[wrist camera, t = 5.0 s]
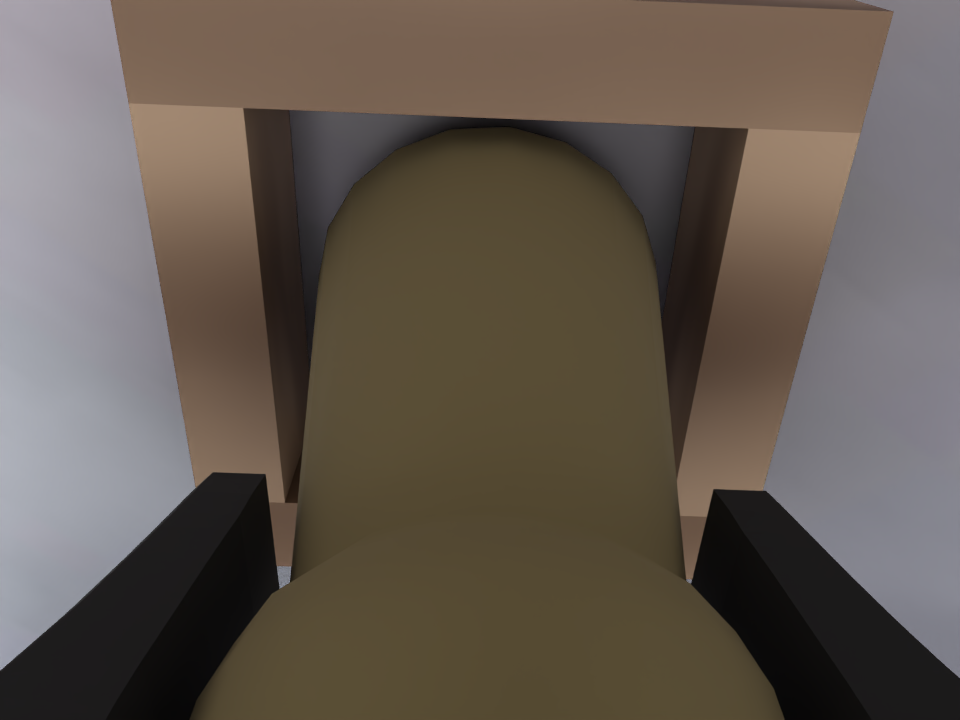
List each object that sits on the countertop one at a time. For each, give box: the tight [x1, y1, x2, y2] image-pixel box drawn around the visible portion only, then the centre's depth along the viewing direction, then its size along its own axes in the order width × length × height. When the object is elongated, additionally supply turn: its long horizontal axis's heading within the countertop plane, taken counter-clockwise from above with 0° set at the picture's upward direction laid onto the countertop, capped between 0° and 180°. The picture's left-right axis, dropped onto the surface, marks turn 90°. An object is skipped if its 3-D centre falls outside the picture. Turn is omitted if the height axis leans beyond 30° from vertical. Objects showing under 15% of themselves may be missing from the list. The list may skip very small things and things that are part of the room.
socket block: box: [111, 0, 893, 579], centre depth 15 cm, size 11×11×3 cm
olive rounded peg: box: [190, 127, 785, 720], centre depth 10 cm, size 6×6×11 cm
